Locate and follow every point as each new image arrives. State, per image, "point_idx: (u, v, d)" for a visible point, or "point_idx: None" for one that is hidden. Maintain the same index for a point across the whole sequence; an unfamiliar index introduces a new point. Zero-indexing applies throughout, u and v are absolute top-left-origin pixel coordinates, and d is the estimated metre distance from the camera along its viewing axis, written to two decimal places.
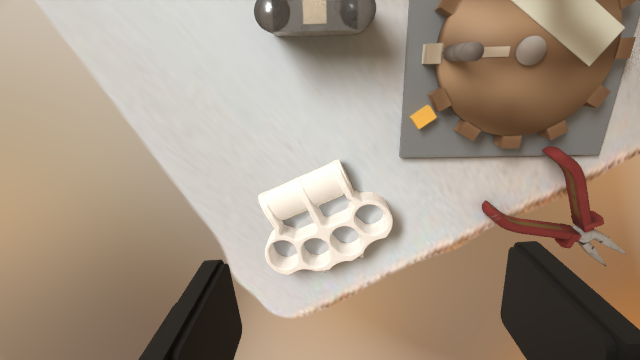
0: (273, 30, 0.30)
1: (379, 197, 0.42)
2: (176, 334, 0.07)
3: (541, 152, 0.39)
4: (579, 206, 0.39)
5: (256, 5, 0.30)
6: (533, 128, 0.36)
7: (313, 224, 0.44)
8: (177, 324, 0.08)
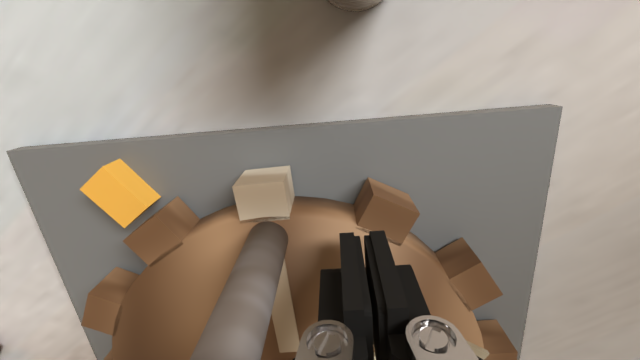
0: None
1: None
2: (361, 289, 0.08)
3: None
4: None
5: None
6: None
7: None
8: (354, 282, 0.09)
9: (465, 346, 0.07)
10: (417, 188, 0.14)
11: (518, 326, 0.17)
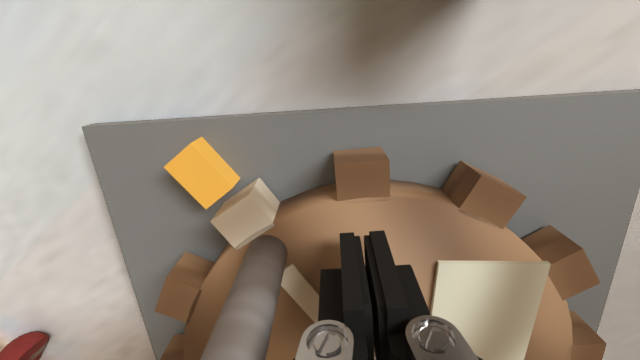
0: None
1: None
2: (361, 289, 0.08)
3: None
4: None
5: None
6: None
7: None
8: (354, 282, 0.09)
9: (465, 346, 0.07)
10: (509, 172, 0.14)
11: (594, 318, 0.16)
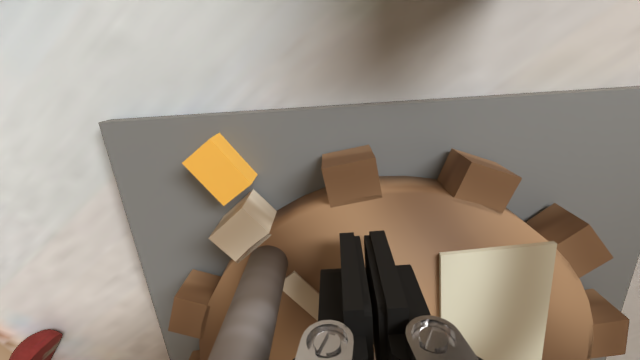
0: None
1: None
2: (361, 289, 0.08)
3: None
4: None
5: None
6: None
7: None
8: (354, 281, 0.09)
9: (465, 346, 0.07)
10: (530, 169, 0.14)
11: None
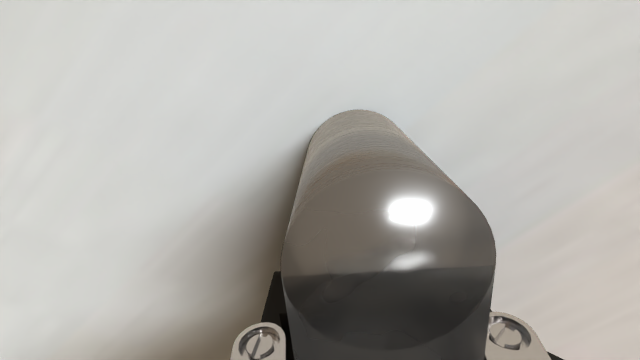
0: (289, 276, 0.05)
1: None
2: None
3: None
4: None
5: (427, 185, 0.05)
6: None
7: None
8: None
9: (540, 349, 0.06)
10: None
11: None
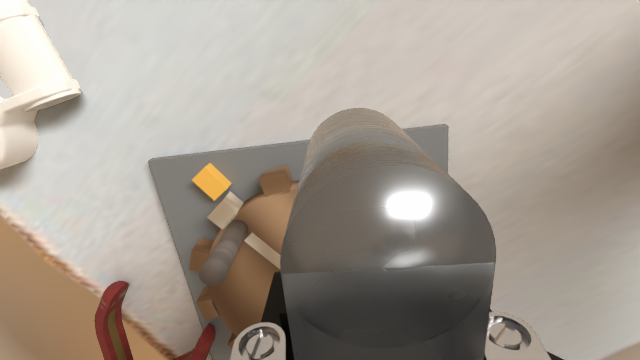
0: (289, 274, 0.05)
1: (27, 152, 0.26)
2: None
3: (204, 323, 0.32)
4: None
5: (426, 182, 0.05)
6: None
7: None
8: None
9: (540, 349, 0.06)
10: None
11: None
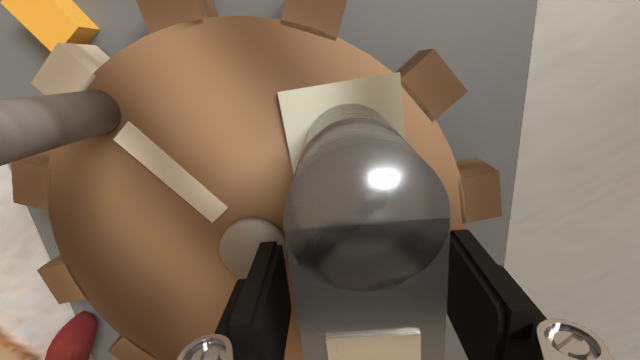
0: (290, 229, 0.07)
1: None
2: (255, 302, 0.08)
3: None
4: None
5: (394, 153, 0.06)
6: None
7: None
8: (253, 294, 0.09)
9: None
10: (388, 11, 0.13)
11: (505, 194, 0.15)
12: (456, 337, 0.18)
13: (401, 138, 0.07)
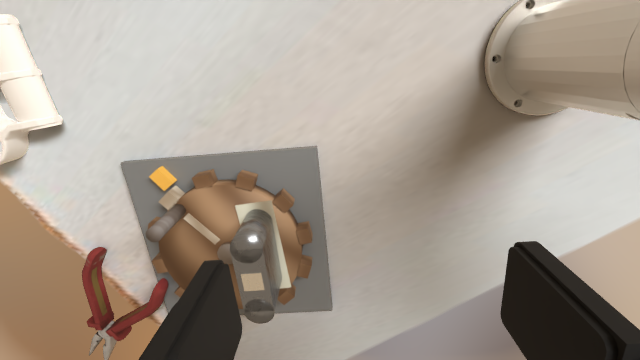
0: (231, 250, 0.33)
1: (19, 154, 0.39)
2: (176, 335, 0.07)
3: (160, 279, 0.45)
4: (125, 320, 0.45)
5: (249, 236, 0.32)
6: None
7: None
8: (177, 324, 0.08)
9: None
10: (272, 176, 0.39)
11: (322, 233, 0.41)
12: (314, 289, 0.44)
13: (257, 229, 0.34)
